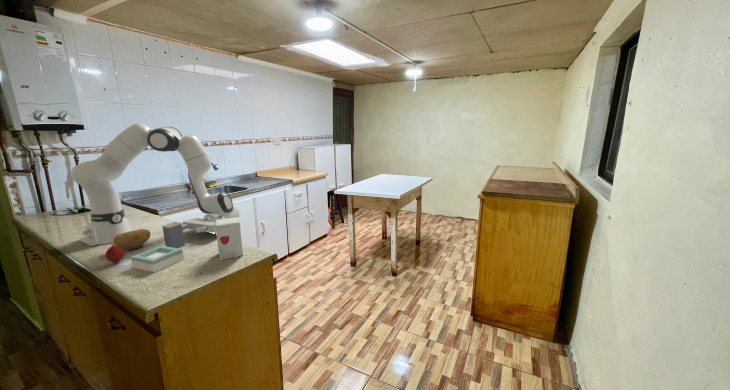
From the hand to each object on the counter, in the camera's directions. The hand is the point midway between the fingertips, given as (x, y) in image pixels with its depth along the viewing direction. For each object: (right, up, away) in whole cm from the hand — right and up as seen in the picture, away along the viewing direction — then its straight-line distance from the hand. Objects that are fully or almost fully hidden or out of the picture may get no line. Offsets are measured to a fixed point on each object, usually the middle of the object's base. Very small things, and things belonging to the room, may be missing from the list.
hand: (188, 230), depth 137 cm
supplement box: (+27, -9, -14) cm, 31 cm away
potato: (-21, -8, -5) cm, 23 cm away
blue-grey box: (-2, -7, -6) cm, 9 cm away
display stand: (+1, -11, -21) cm, 24 cm away
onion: (-16, -11, -20) cm, 28 cm away
